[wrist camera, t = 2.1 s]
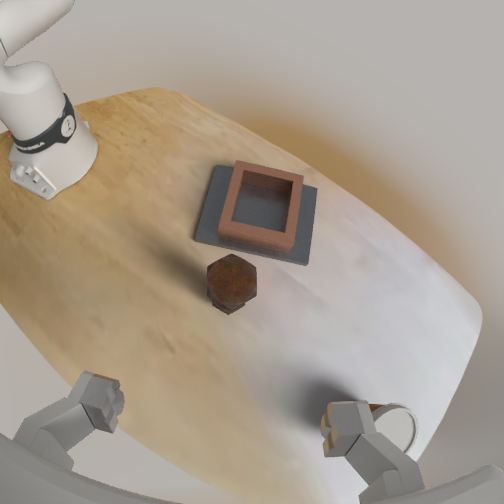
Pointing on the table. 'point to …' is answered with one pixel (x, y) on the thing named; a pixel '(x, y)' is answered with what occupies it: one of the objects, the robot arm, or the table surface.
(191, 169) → the table surface
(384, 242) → the table surface
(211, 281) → the bolt
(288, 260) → the socket
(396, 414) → the disposable coffee cup
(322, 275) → the table surface
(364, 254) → the table surface
